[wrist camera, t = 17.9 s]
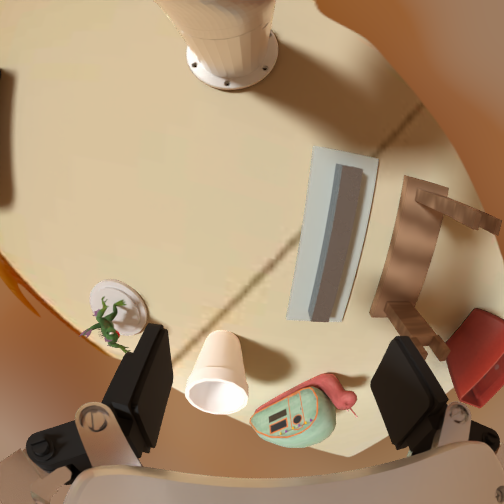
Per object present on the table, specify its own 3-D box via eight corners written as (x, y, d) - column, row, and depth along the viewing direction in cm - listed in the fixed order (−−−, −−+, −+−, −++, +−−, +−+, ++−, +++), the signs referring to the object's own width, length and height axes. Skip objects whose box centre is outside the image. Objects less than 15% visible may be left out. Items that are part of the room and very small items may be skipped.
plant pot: (427, 352, 51) (458, 401, 35) (478, 290, 45) (521, 330, 29) (454, 369, 55) (480, 409, 39) (497, 318, 49) (530, 353, 33)
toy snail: (266, 419, 58) (268, 466, 45) (244, 408, 56) (244, 457, 43) (353, 372, 52) (371, 421, 39) (336, 356, 50) (353, 409, 37)
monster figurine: (155, 332, 47) (139, 370, 38) (105, 333, 48) (84, 366, 38) (134, 275, 43) (109, 308, 33) (83, 281, 43) (54, 311, 34)
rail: (335, 163, 35) (342, 164, 32) (355, 167, 35) (363, 169, 33) (307, 310, 44) (311, 321, 41) (324, 311, 44) (328, 321, 42)
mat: (313, 145, 35) (314, 145, 34) (376, 158, 36) (378, 158, 35) (286, 317, 46) (286, 319, 45) (340, 319, 46) (341, 321, 45)
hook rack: (404, 175, 36) (471, 196, 21) (443, 186, 37) (509, 211, 22) (369, 312, 46) (404, 373, 31) (407, 312, 46) (446, 366, 31)
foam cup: (214, 314, 45) (203, 368, 33) (258, 338, 47) (260, 393, 35) (189, 346, 48) (175, 399, 36) (230, 367, 50) (226, 420, 38)
